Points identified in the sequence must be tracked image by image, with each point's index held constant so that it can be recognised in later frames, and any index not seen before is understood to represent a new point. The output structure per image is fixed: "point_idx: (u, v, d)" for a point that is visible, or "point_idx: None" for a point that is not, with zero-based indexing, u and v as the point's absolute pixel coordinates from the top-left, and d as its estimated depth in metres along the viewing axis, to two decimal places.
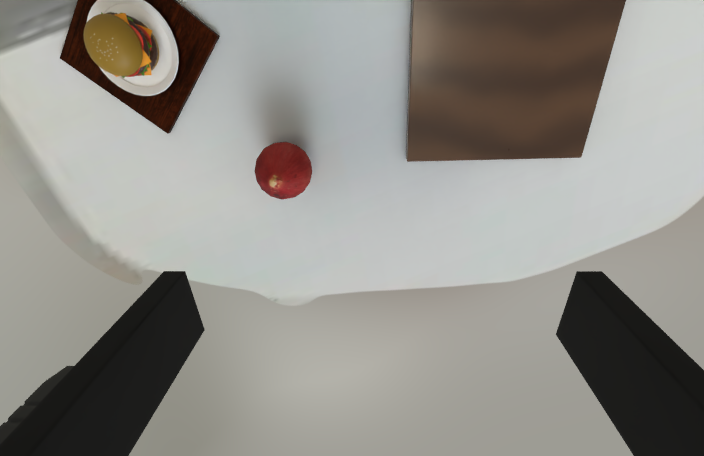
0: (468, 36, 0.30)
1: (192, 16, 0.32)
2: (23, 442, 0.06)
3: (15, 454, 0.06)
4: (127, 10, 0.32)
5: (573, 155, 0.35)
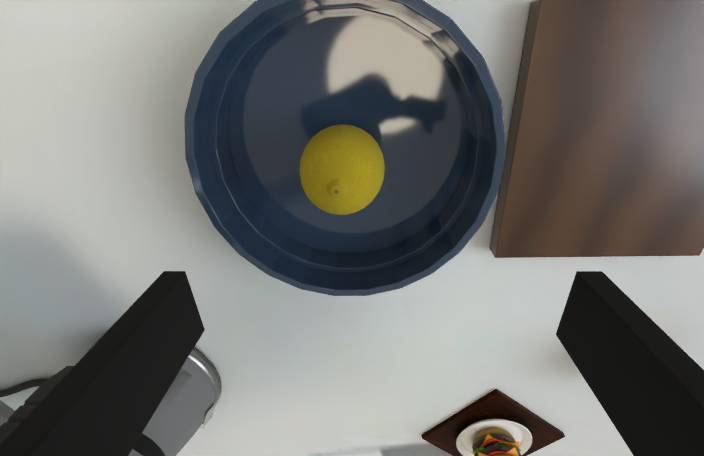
0: (565, 200, 0.25)
1: (479, 403, 0.38)
2: (23, 442, 0.06)
3: (15, 454, 0.06)
4: (466, 436, 0.41)
5: None
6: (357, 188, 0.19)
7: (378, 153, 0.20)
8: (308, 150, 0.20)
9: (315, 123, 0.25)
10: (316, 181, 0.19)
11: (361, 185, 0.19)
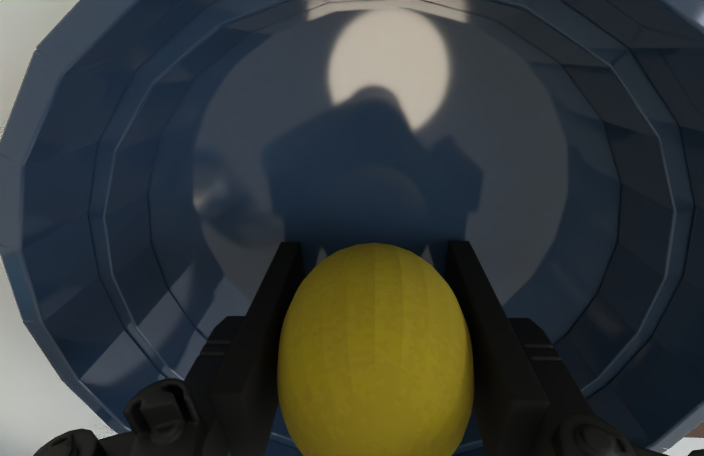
0: None
1: None
2: (240, 362, 0.08)
3: (238, 370, 0.08)
4: None
5: None
6: None
7: (466, 339, 0.08)
8: (296, 342, 0.08)
9: (315, 217, 0.13)
10: (316, 450, 0.07)
11: None
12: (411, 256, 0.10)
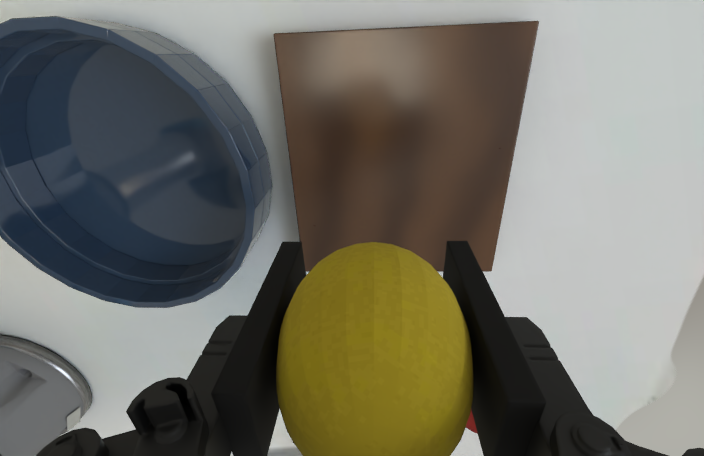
0: (352, 219, 0.26)
1: None
2: (243, 362, 0.08)
3: (241, 370, 0.08)
4: None
5: (532, 38, 0.20)
6: None
7: (465, 338, 0.08)
8: (295, 341, 0.08)
9: (109, 143, 0.26)
10: (315, 449, 0.07)
11: None
12: (410, 255, 0.10)
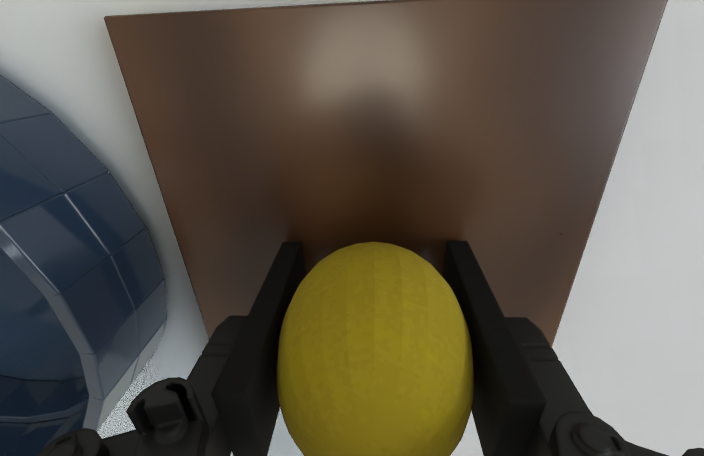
0: None
1: None
2: (243, 362, 0.08)
3: (241, 370, 0.08)
4: None
5: (652, 23, 0.09)
6: None
7: (466, 338, 0.08)
8: (296, 341, 0.08)
9: None
10: (315, 448, 0.07)
11: None
12: (411, 255, 0.10)
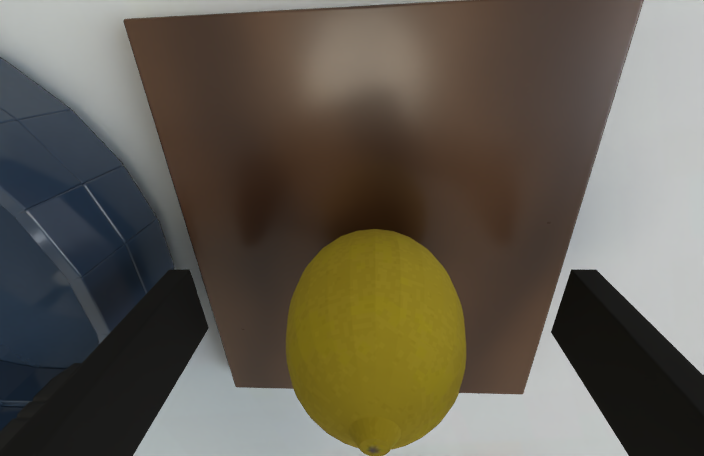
0: None
1: None
2: (34, 437, 0.07)
3: (26, 449, 0.06)
4: None
5: (628, 25, 0.10)
6: (422, 426, 0.08)
7: (458, 313, 0.09)
8: (304, 314, 0.09)
9: None
10: (323, 408, 0.08)
11: (431, 417, 0.08)
12: (409, 240, 0.11)
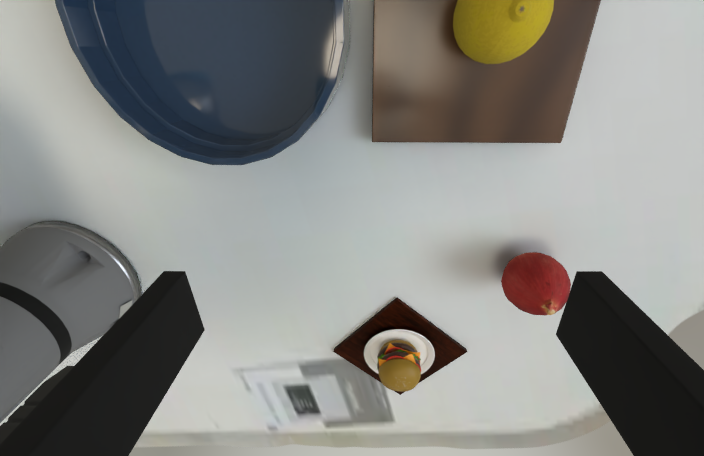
0: (428, 78, 0.27)
1: (381, 312, 0.40)
2: (23, 442, 0.06)
3: (15, 454, 0.06)
4: (374, 349, 0.43)
5: None
6: (539, 11, 0.18)
7: None
8: None
9: None
10: (496, 2, 0.18)
11: (543, 8, 0.18)
12: None
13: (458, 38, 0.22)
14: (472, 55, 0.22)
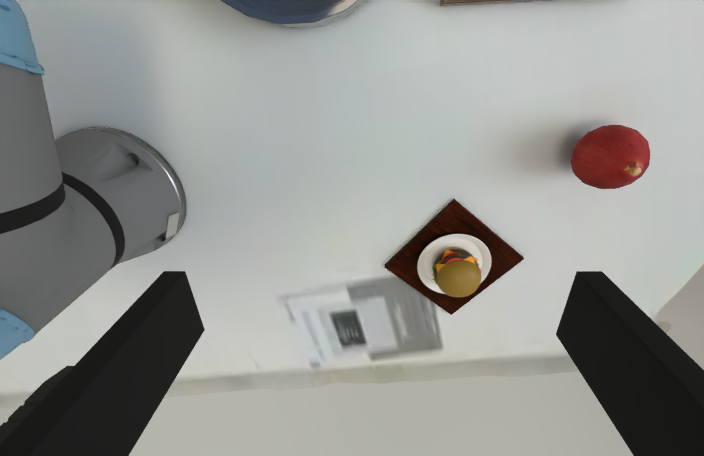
0: None
1: (438, 217, 0.39)
2: (23, 442, 0.06)
3: (15, 454, 0.06)
4: (427, 261, 0.42)
5: None
6: None
7: None
8: None
9: None
10: None
11: None
12: None
13: None
14: None
